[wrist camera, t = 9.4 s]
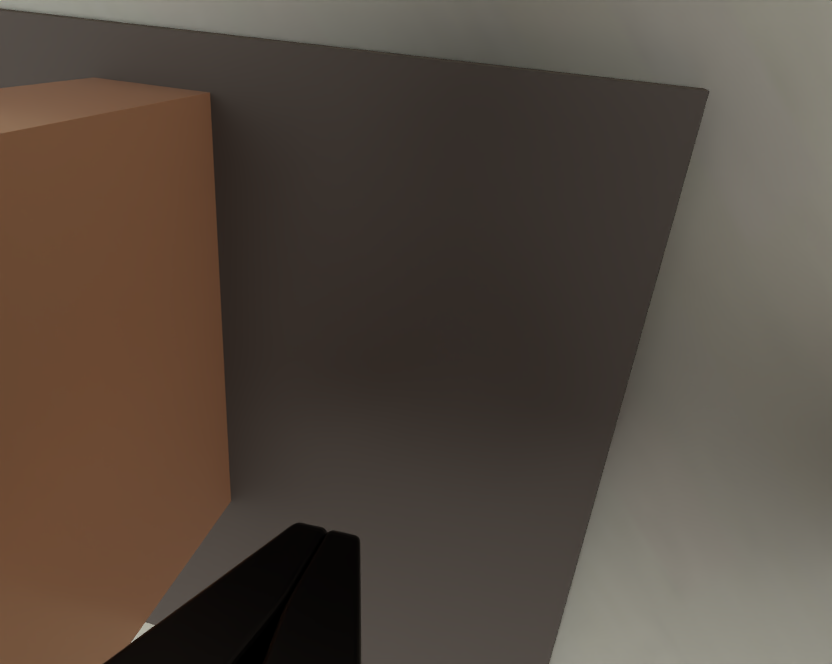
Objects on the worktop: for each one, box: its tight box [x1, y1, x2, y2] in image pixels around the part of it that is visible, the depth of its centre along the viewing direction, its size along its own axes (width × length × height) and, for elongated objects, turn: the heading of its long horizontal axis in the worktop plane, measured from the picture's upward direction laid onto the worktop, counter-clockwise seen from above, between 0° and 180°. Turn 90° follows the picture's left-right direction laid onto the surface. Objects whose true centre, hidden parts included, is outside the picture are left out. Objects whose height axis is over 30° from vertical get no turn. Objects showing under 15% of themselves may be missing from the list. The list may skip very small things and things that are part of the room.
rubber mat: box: [0, 9, 709, 664], centre depth 14 cm, size 18×15×1 cm
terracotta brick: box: [0, 77, 231, 664], centre depth 10 cm, size 2×9×7 cm, turn 175°
